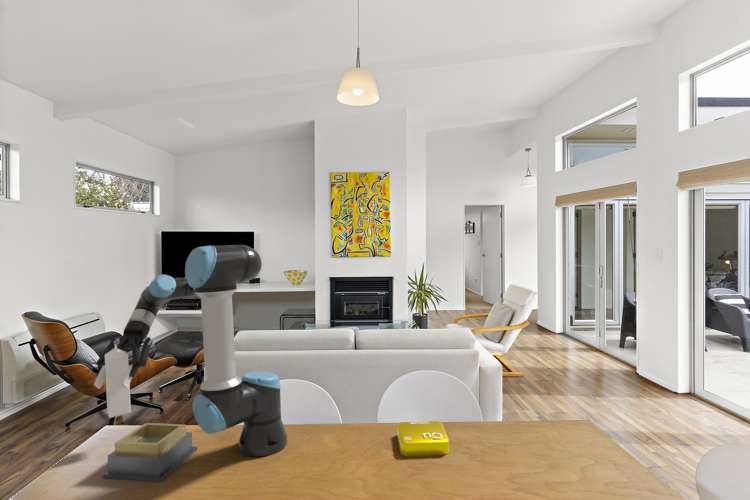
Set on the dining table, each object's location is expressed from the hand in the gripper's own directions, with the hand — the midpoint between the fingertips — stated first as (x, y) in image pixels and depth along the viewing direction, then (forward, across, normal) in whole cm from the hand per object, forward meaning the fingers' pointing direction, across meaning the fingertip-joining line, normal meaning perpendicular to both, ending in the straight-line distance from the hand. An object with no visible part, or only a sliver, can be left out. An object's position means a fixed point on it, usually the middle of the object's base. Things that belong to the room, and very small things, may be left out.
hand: (110, 386), depth 134 cm
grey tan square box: (+19, -16, -11) cm, 27 cm away
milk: (+5, 0, -9) cm, 11 cm away
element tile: (+11, -97, -22) cm, 100 cm away
